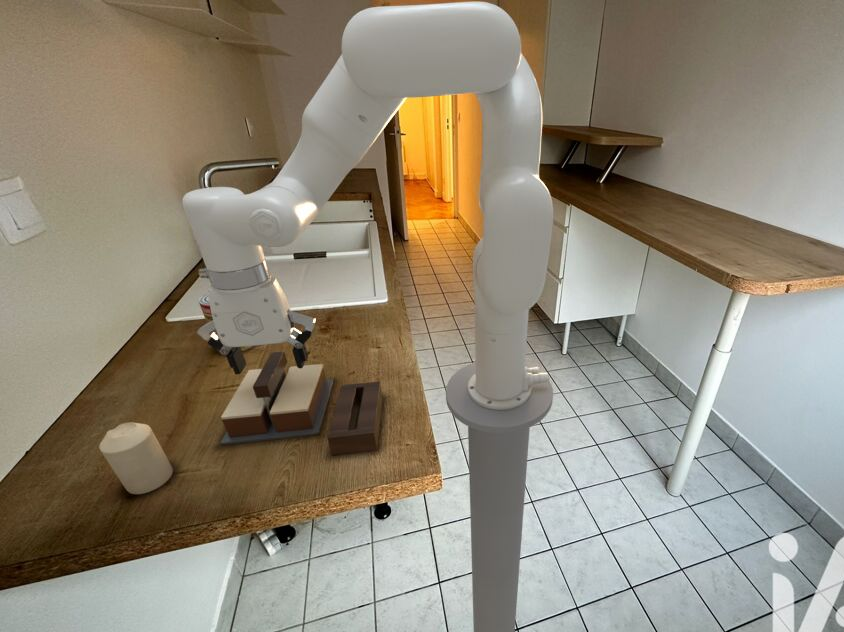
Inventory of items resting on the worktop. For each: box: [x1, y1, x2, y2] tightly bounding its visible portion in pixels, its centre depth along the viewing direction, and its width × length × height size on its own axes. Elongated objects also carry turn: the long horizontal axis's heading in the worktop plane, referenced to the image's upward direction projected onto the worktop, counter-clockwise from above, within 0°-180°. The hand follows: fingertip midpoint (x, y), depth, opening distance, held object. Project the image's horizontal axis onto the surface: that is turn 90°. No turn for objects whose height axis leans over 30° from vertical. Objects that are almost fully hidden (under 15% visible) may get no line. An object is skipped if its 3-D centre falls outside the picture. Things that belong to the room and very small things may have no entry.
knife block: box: [327, 381, 384, 456], centre depth 72 cm, size 13×7×4 cm, turn 11°
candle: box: [98, 421, 174, 495], centre depth 59 cm, size 6×6×10 cm
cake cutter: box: [253, 351, 288, 427], centre depth 73 cm, size 10×2×9 cm, turn 11°
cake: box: [220, 363, 335, 446], centre depth 74 cm, size 15×15×5 cm
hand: (272, 366), depth 70 cm, fingers open, 9 cm apart
